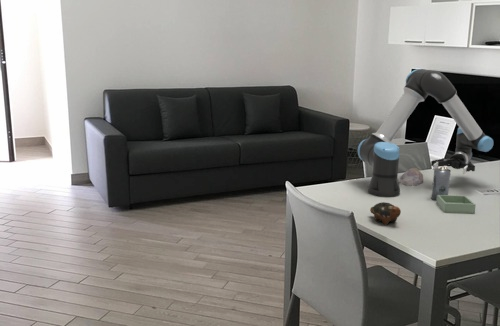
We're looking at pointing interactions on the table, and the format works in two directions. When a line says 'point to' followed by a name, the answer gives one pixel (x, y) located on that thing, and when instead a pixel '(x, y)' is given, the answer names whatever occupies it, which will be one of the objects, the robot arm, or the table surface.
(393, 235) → the table surface
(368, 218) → the table surface
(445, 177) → the can
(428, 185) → the table surface
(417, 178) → the stone
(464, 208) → the bin
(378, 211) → the decorative turtle
